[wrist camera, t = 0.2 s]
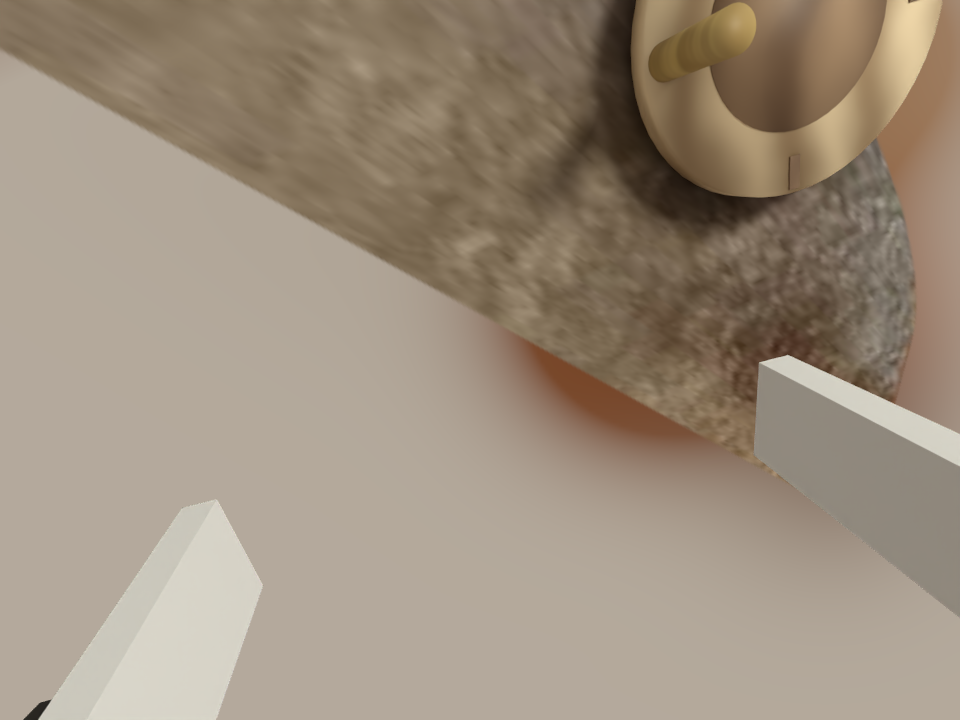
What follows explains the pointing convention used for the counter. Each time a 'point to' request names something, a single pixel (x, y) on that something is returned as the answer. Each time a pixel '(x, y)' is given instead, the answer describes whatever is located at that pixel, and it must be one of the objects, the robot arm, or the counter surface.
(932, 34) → the turntable
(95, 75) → the counter surface
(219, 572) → the robot arm
